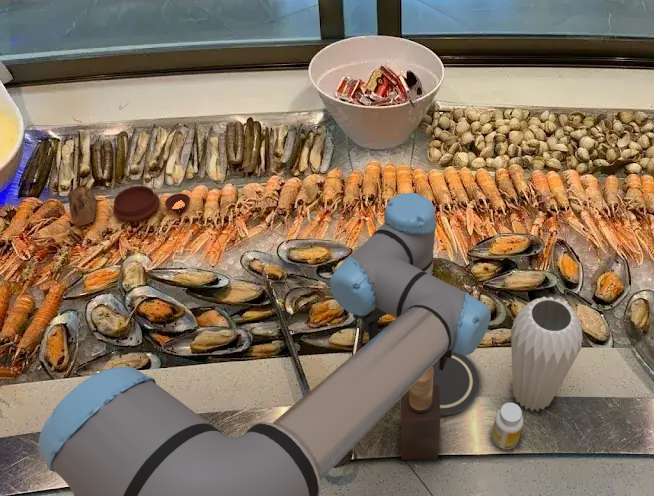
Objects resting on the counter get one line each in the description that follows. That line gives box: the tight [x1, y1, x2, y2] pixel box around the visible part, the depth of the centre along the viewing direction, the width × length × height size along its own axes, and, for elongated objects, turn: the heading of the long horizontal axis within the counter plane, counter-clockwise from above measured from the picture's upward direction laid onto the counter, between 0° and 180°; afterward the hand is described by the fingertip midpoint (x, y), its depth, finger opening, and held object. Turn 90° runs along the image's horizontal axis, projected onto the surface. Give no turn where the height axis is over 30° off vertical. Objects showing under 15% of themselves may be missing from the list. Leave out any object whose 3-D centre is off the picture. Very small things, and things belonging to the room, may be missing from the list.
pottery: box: [112, 185, 191, 222], centre depth 176 cm, size 12×20×4 cm, turn 92°
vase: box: [510, 296, 584, 412], centre depth 129 cm, size 13×13×26 cm
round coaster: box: [433, 352, 480, 417], centre depth 139 cm, size 16×16×1 cm
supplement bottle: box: [491, 402, 524, 450], centre depth 127 cm, size 5×5×10 cm
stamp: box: [407, 366, 434, 414], centre depth 116 cm, size 5×5×10 cm
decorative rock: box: [67, 186, 98, 227], centre depth 171 cm, size 12×6×11 cm, turn 18°
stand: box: [400, 385, 442, 461], centre depth 124 cm, size 7×7×15 cm
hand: (408, 353), depth 122 cm, fingers open, 13 cm apart
